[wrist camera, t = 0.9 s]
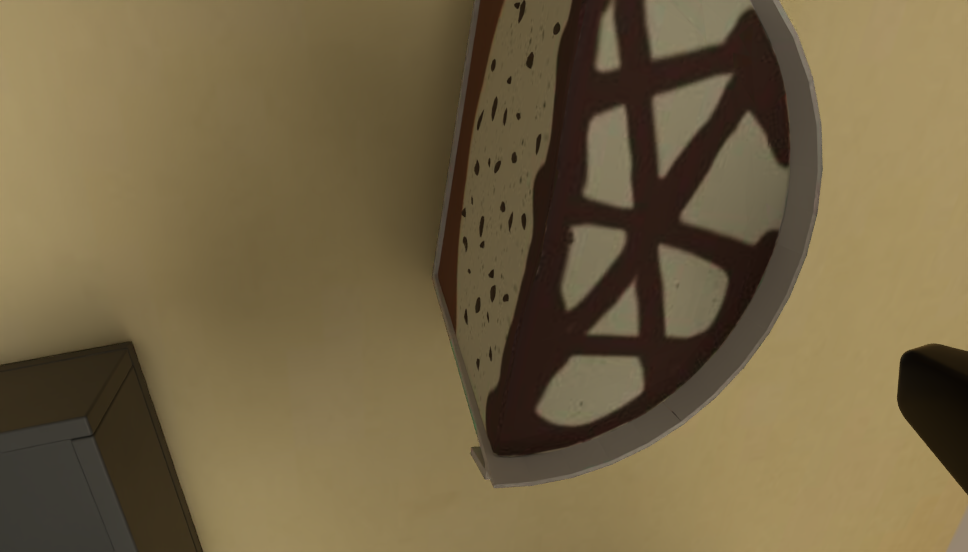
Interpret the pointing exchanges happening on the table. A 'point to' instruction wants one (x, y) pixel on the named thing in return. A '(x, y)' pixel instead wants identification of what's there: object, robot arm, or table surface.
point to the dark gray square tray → (86, 459)
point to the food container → (619, 219)
